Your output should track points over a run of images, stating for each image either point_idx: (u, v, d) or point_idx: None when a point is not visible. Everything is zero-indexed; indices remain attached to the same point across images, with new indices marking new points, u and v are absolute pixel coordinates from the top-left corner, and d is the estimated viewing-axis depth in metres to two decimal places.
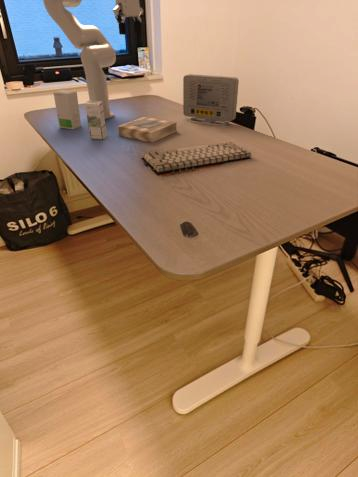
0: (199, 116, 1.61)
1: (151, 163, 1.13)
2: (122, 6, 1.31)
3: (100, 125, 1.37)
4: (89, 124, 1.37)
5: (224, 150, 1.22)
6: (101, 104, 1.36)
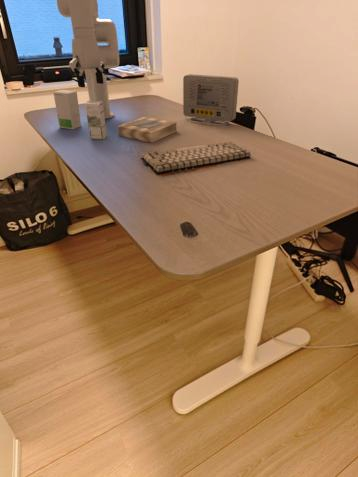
0: (199, 116, 1.61)
1: (151, 163, 1.14)
2: (79, 59, 1.22)
3: (100, 125, 1.37)
4: (89, 124, 1.37)
5: (223, 150, 1.23)
6: (101, 104, 1.36)
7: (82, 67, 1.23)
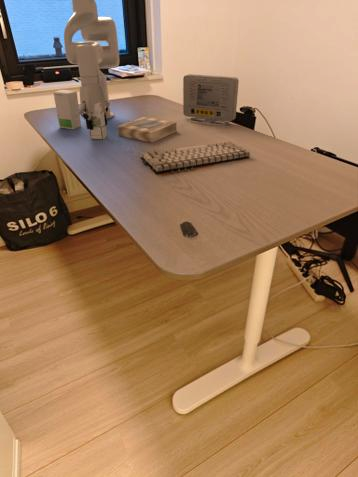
0: (199, 116, 1.61)
1: (150, 163, 1.14)
2: (86, 104, 1.31)
3: (100, 125, 1.37)
4: None
5: (223, 150, 1.23)
6: None
7: (89, 111, 1.32)
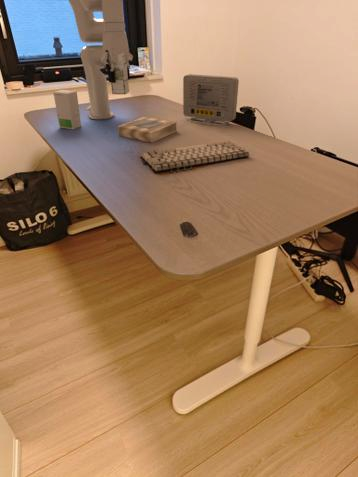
0: (199, 116, 1.61)
1: (149, 162, 1.14)
2: (109, 53, 1.23)
3: (123, 78, 1.30)
4: None
5: (222, 149, 1.23)
6: (124, 55, 1.28)
7: (112, 61, 1.25)
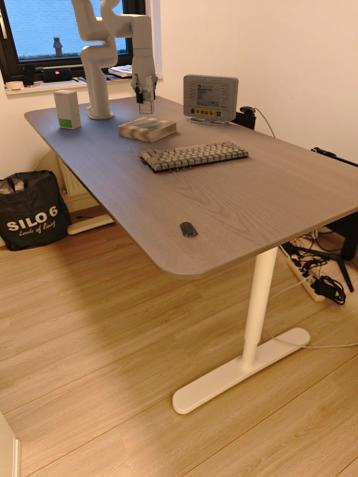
0: (199, 116, 1.61)
1: (149, 162, 1.15)
2: (138, 77, 1.30)
3: (150, 99, 1.36)
4: None
5: (222, 149, 1.23)
6: None
7: (141, 84, 1.32)
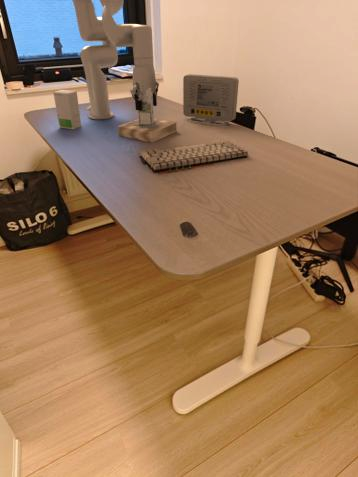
0: (199, 116, 1.61)
1: (148, 161, 1.15)
2: (139, 86, 1.32)
3: (150, 110, 1.39)
4: None
5: (221, 149, 1.23)
6: (151, 90, 1.38)
7: (141, 93, 1.33)
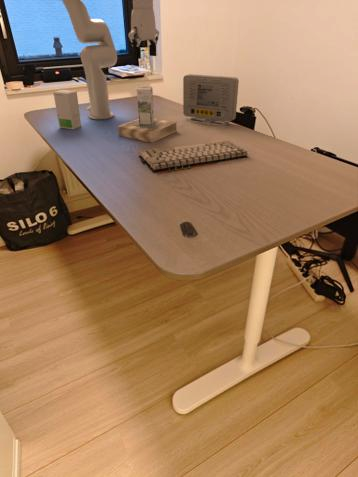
0: (199, 116, 1.61)
1: (148, 161, 1.15)
2: (138, 30, 1.26)
3: (150, 110, 1.39)
4: (139, 109, 1.39)
5: (221, 149, 1.24)
6: (151, 90, 1.38)
7: (140, 38, 1.27)
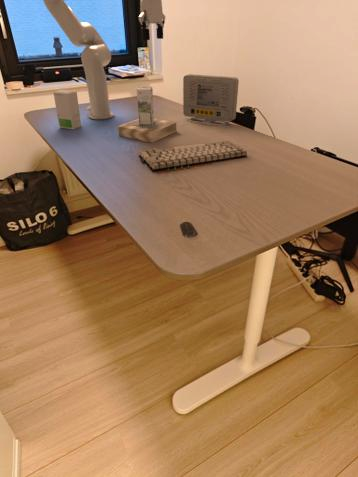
0: (199, 116, 1.61)
1: (147, 160, 1.16)
2: (147, 13, 1.37)
3: (150, 110, 1.39)
4: (139, 109, 1.39)
5: (220, 148, 1.24)
6: (151, 90, 1.38)
7: (149, 21, 1.39)
